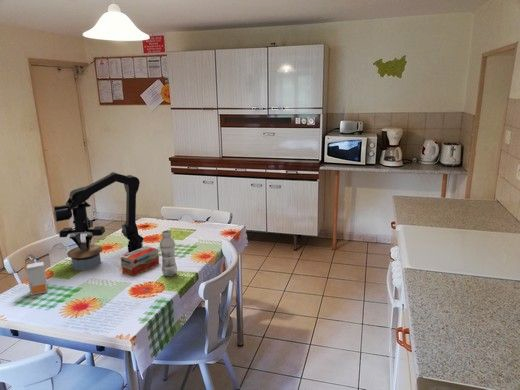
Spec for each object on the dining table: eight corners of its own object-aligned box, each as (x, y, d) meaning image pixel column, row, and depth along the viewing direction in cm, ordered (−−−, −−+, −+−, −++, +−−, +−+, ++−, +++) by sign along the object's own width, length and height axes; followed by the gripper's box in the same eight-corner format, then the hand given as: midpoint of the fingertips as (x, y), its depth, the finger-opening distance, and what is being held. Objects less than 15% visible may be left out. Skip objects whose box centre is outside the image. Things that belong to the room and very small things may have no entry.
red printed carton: (148, 260, 185) (146, 245, 183) (159, 264, 180) (158, 248, 178) (121, 272, 173) (119, 255, 171) (133, 276, 168) (131, 259, 166)
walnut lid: (106, 245, 187) (105, 237, 186) (96, 257, 172) (95, 248, 171) (75, 246, 186) (73, 238, 185) (61, 259, 171) (60, 250, 170)
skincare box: (30, 295, 152) (25, 268, 150) (31, 291, 156) (26, 264, 153) (47, 292, 155) (43, 265, 152) (48, 287, 159) (43, 261, 156)
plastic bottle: (180, 272, 171) (177, 230, 166) (172, 278, 165) (168, 235, 160) (167, 270, 173) (164, 228, 168) (159, 277, 167) (155, 233, 162)
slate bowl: (103, 259, 187) (102, 249, 186) (95, 269, 175) (94, 259, 174) (78, 260, 186) (77, 250, 185) (68, 271, 174) (67, 260, 173)
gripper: (106, 211, 183) (110, 241, 187) (66, 212, 182) (71, 243, 186) (99, 218, 172) (103, 250, 176) (56, 220, 171) (61, 252, 175)
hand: (84, 248), depth 179 cm, fingers closed on walnut lid, 3 cm apart
